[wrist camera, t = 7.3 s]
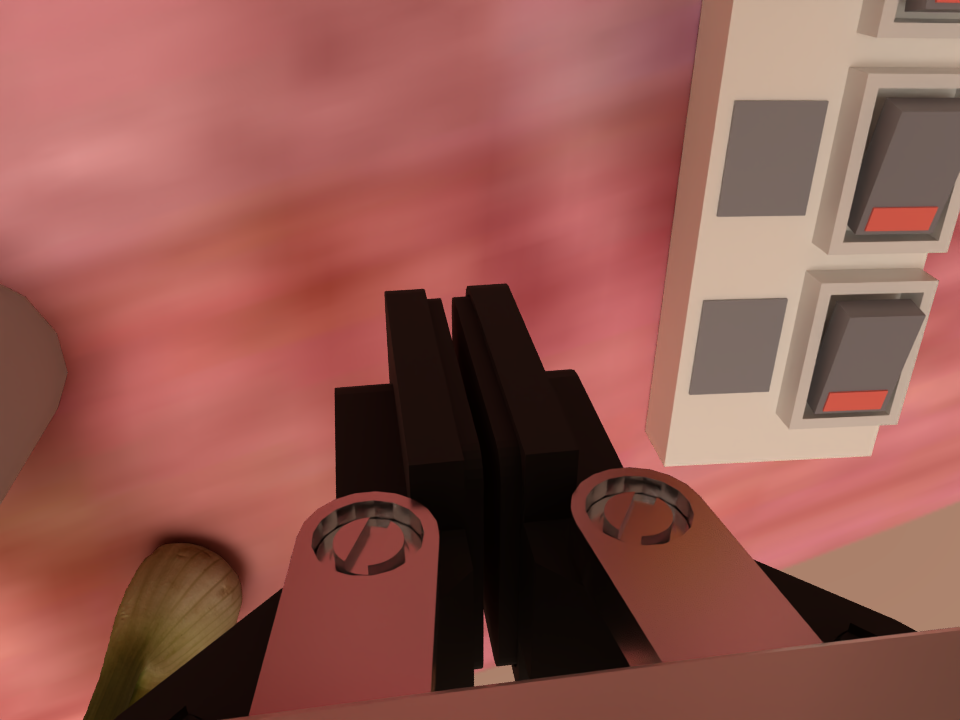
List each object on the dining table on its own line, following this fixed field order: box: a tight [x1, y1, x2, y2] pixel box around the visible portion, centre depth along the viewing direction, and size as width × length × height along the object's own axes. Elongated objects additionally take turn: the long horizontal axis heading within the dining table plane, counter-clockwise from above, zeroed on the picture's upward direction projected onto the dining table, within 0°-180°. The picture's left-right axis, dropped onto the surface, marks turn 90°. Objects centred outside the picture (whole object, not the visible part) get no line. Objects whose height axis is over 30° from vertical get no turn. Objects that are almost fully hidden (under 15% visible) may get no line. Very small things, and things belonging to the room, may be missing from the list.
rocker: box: [806, 299, 926, 414], centre depth 36 cm, size 5×3×1 cm, turn 178°
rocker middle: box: [847, 98, 960, 235], centre depth 32 cm, size 5×3×1 cm, turn 178°
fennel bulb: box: [83, 543, 242, 720], centre depth 37 cm, size 6×5×12 cm
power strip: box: [645, 0, 960, 467], centre depth 34 cm, size 28×10×4 cm, turn 179°
